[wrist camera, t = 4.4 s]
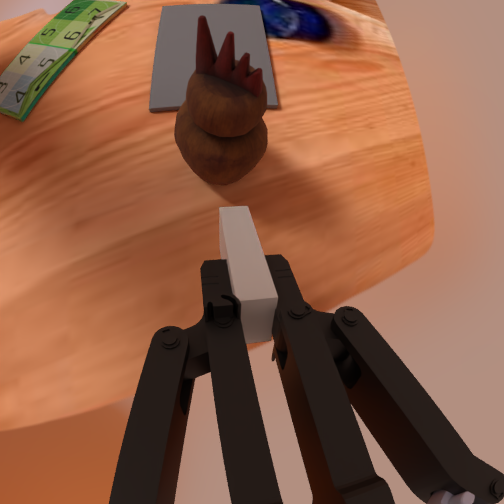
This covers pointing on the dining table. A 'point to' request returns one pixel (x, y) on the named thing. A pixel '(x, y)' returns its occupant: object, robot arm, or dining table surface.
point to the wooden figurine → (222, 112)
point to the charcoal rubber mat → (184, 48)
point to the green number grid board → (52, 53)
